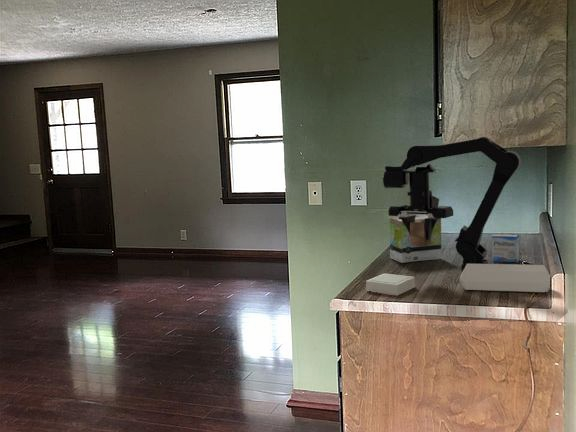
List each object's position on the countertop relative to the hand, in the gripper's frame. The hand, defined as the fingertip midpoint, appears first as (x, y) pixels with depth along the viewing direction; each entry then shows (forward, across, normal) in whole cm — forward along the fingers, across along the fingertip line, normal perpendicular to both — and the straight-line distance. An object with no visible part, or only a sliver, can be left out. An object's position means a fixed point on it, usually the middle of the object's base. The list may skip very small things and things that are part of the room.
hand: (420, 239), depth 179 cm
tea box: (+12, +15, -24) cm, 31 cm away
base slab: (+12, +2, +15) cm, 19 cm away
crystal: (+12, -25, +1) cm, 28 cm away
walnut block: (+2, 0, 0) cm, 2 cm away
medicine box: (+12, -13, -33) cm, 38 cm away
